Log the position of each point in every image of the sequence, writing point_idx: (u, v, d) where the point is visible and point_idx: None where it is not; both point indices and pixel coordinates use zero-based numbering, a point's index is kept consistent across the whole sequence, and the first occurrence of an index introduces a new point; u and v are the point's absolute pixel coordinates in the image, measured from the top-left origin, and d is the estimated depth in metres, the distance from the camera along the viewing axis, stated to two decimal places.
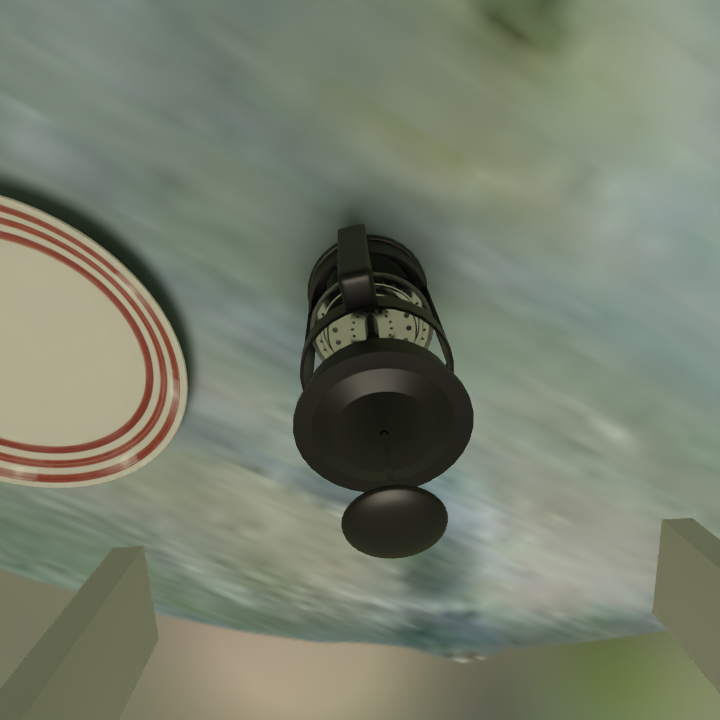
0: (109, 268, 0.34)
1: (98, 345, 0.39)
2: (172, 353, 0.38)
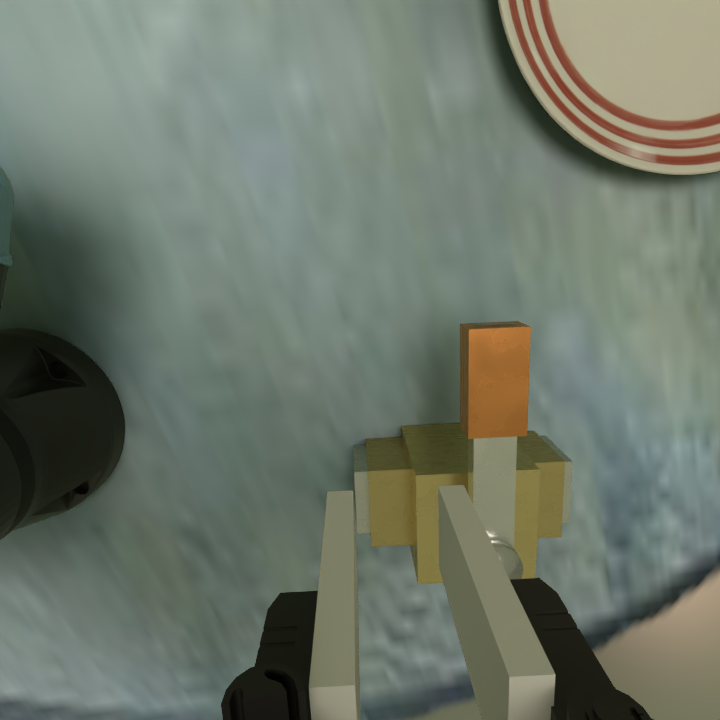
0: None
1: None
2: None
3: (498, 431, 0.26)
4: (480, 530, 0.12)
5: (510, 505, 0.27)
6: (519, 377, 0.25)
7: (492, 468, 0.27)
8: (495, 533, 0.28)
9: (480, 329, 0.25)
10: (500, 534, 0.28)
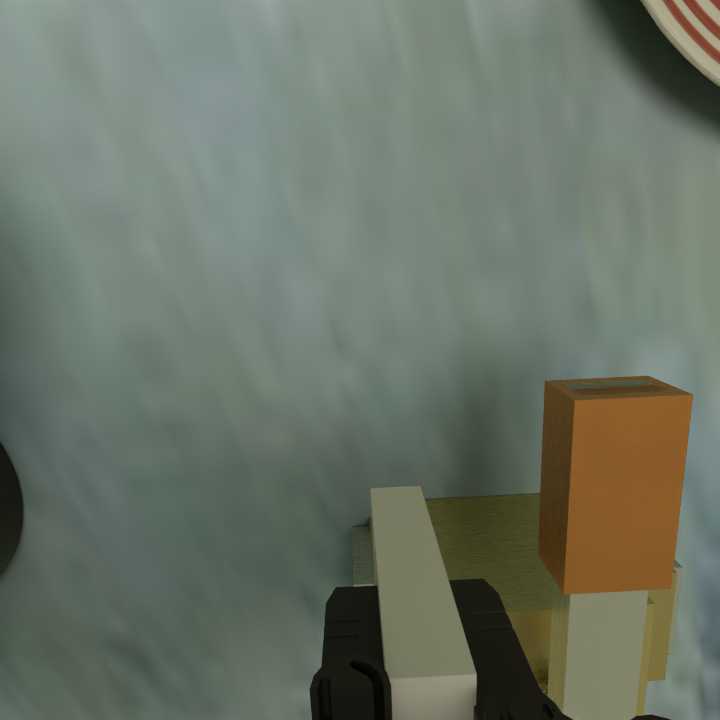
0: None
1: None
2: None
3: (619, 581, 0.14)
4: (428, 531, 0.12)
5: (629, 698, 0.16)
6: (665, 486, 0.13)
7: (600, 638, 0.15)
8: None
9: (596, 400, 0.13)
10: None
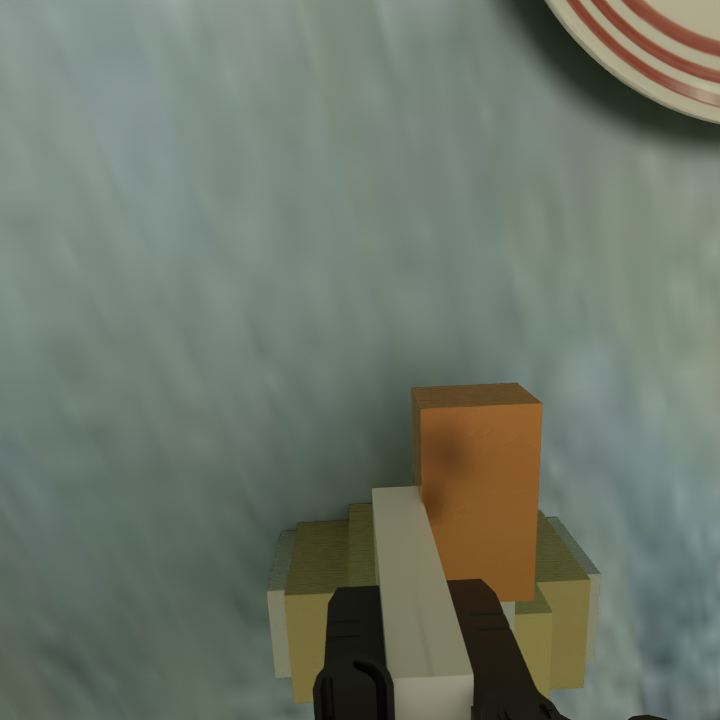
0: None
1: None
2: None
3: None
4: (426, 531, 0.12)
5: None
6: (520, 496, 0.13)
7: None
8: None
9: (443, 408, 0.13)
10: None
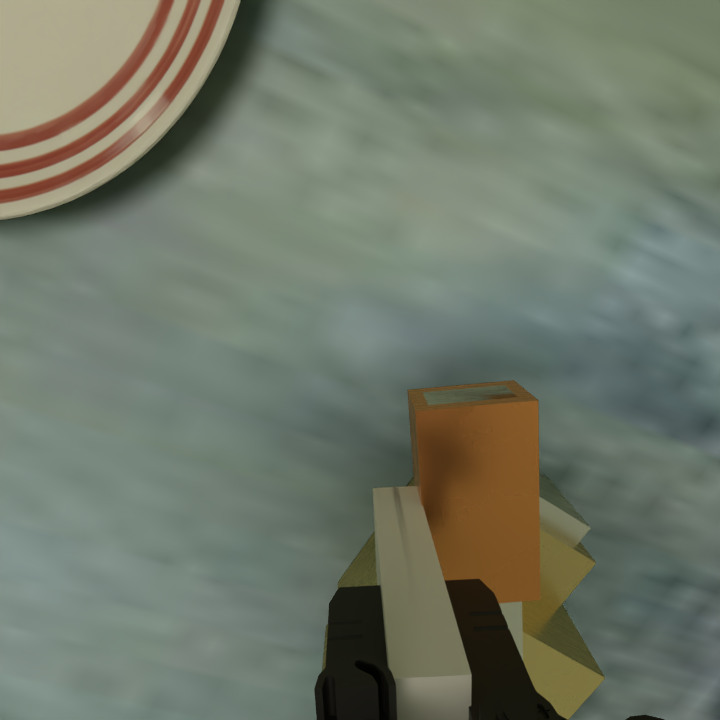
0: None
1: None
2: None
3: None
4: (425, 531, 0.12)
5: None
6: (521, 495, 0.13)
7: None
8: None
9: (438, 409, 0.13)
10: None
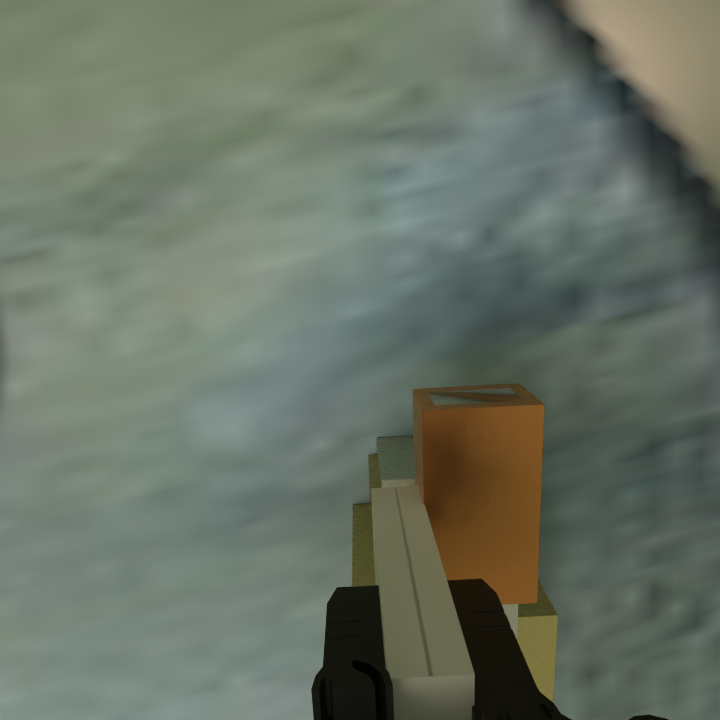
0: None
1: None
2: None
3: None
4: (427, 531, 0.12)
5: None
6: (523, 498, 0.13)
7: None
8: None
9: (444, 409, 0.13)
10: None
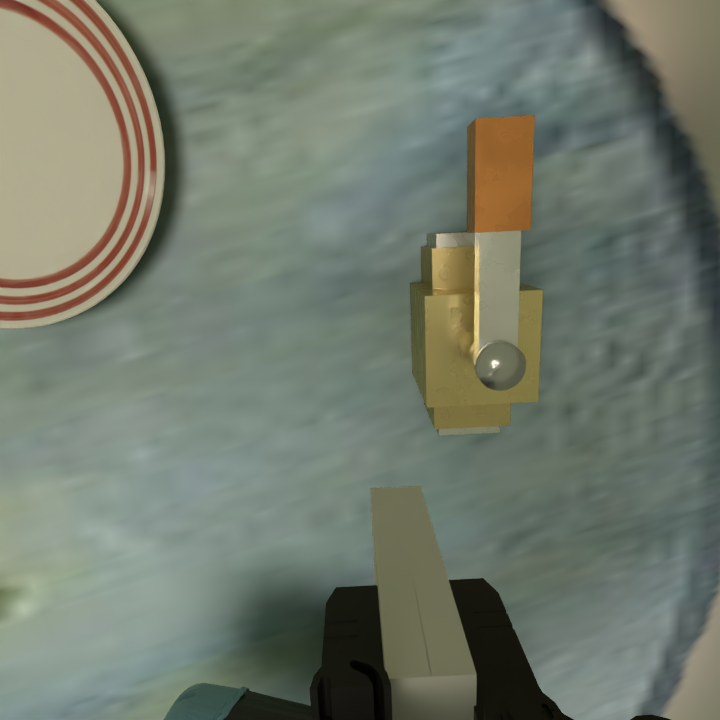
0: None
1: None
2: None
3: (503, 225, 0.28)
4: (428, 531, 0.12)
5: (514, 304, 0.29)
6: (524, 168, 0.27)
7: (497, 266, 0.29)
8: (500, 333, 0.30)
9: (486, 118, 0.26)
10: (504, 335, 0.30)
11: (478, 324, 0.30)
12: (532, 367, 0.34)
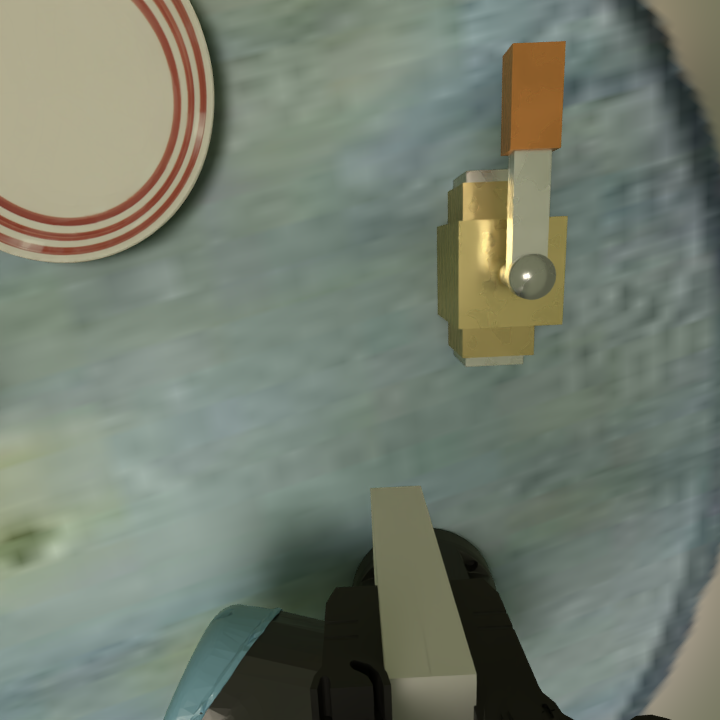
0: (49, 247, 0.41)
1: (16, 159, 0.41)
2: None
3: (536, 142, 0.30)
4: (428, 531, 0.12)
5: (545, 219, 0.32)
6: (555, 89, 0.30)
7: (529, 182, 0.31)
8: (531, 247, 0.32)
9: (522, 43, 0.29)
10: (535, 248, 0.32)
11: (511, 238, 0.32)
12: (557, 290, 0.36)
